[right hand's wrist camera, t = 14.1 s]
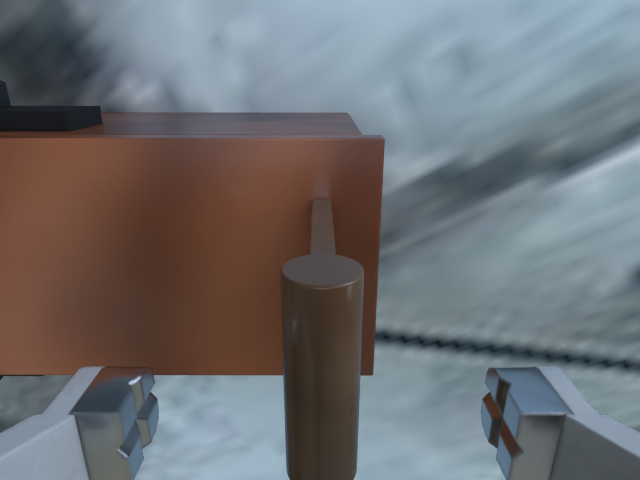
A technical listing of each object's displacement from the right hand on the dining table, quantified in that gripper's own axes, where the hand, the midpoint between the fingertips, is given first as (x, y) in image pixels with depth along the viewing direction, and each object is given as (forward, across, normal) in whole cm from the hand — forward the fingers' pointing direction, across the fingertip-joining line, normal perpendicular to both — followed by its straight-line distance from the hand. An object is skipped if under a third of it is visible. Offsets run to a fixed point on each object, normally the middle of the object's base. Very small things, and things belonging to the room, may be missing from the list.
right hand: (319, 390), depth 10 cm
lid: (+8, +6, 0) cm, 10 cm away
